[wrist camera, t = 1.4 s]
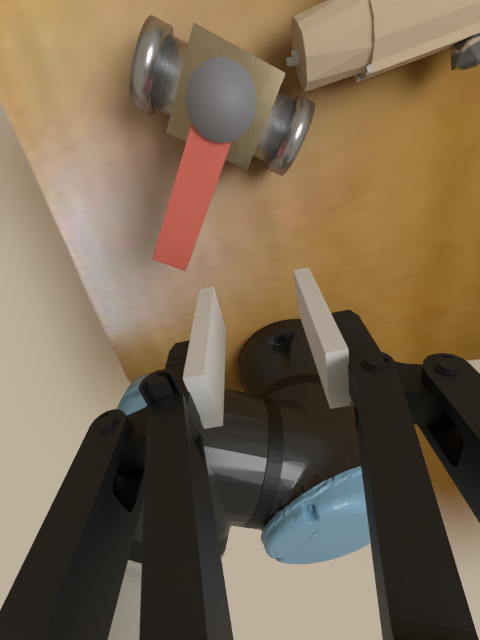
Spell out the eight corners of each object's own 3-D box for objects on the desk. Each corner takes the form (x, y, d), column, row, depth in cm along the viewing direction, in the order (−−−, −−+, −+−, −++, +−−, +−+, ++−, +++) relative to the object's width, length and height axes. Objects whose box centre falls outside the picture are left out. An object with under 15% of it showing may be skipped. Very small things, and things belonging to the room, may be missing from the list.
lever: (204, 52, 22) (199, 41, 18) (263, 84, 23) (268, 79, 19) (152, 240, 29) (141, 257, 25) (198, 258, 30) (194, 276, 26)
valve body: (307, 97, 29) (326, 93, 23) (274, 174, 32) (282, 187, 27) (163, 19, 26) (144, -8, 20) (143, 113, 29) (121, 114, 24)
